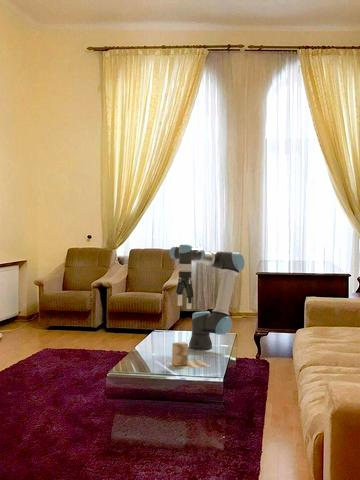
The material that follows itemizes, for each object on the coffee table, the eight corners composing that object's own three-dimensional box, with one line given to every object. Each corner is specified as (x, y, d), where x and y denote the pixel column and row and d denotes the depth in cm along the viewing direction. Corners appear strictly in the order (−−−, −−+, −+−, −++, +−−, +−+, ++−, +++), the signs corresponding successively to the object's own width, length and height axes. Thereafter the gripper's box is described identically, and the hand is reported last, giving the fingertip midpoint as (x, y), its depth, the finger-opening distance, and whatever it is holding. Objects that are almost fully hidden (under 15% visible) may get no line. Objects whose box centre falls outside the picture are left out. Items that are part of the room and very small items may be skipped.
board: (198, 361, 315) (198, 359, 315) (210, 368, 300) (210, 366, 300) (165, 364, 307) (166, 362, 307) (176, 371, 292) (176, 369, 292)
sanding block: (183, 363, 305) (184, 342, 305) (187, 365, 301) (187, 343, 300) (172, 364, 302) (172, 342, 302) (175, 366, 298) (175, 344, 298)
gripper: (171, 269, 329) (170, 304, 329) (187, 272, 306) (187, 310, 306) (182, 269, 332) (182, 304, 332) (199, 272, 309) (199, 310, 309)
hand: (184, 307), depth 319 cm, fingers open, 13 cm apart
